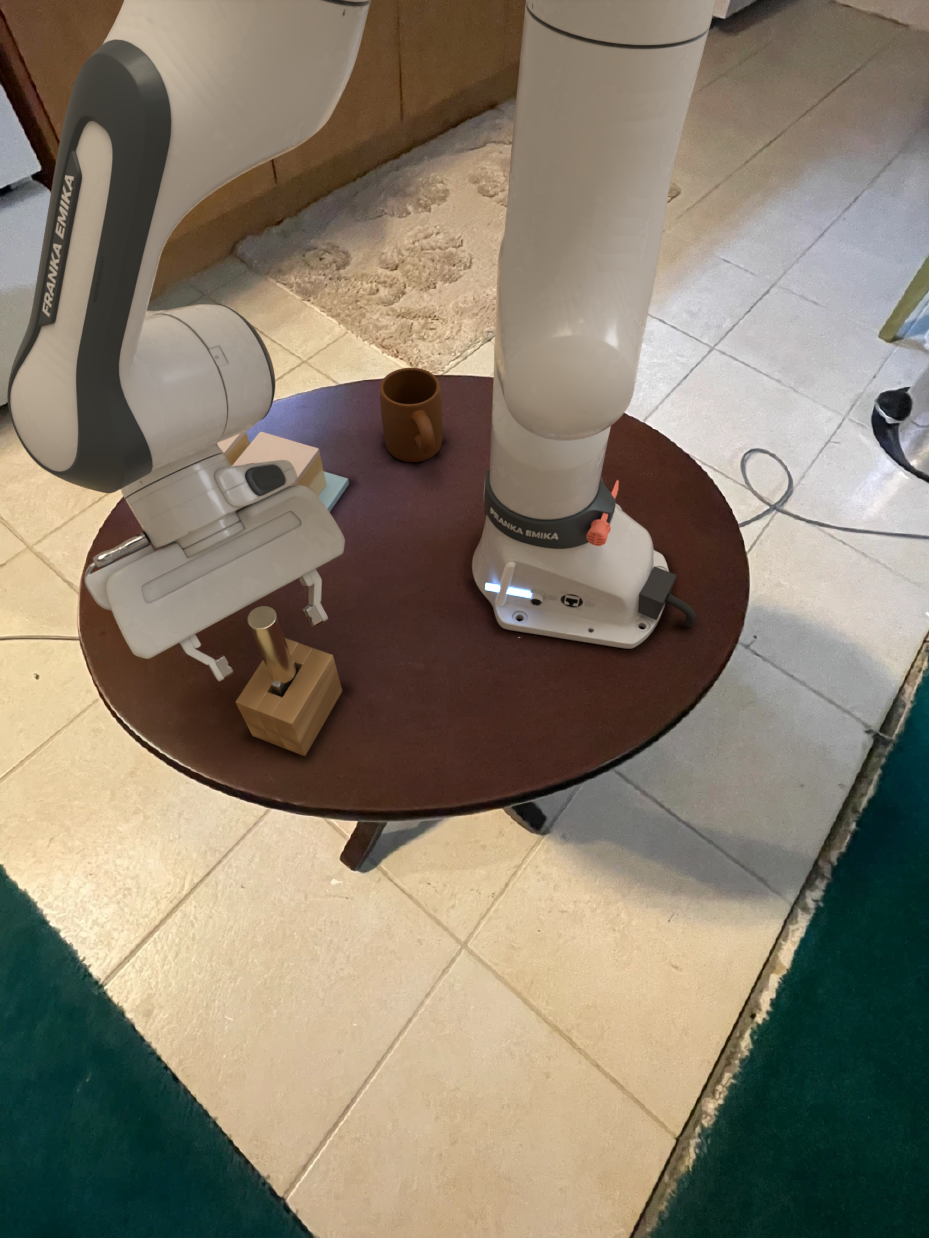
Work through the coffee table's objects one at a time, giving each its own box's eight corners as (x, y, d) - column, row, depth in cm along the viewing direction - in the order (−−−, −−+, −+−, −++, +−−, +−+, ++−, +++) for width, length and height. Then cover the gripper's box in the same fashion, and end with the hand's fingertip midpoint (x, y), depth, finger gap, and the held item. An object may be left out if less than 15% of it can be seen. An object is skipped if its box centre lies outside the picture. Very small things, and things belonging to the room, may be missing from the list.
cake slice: (256, 464, 97) (245, 427, 92) (214, 516, 92) (200, 480, 87) (235, 458, 98) (223, 421, 93) (193, 509, 93) (178, 473, 88)
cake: (349, 484, 96) (342, 442, 91) (294, 564, 89) (282, 523, 83) (230, 448, 100) (216, 405, 94) (168, 521, 93) (148, 480, 87)
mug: (460, 480, 97) (460, 422, 89) (402, 494, 95) (397, 436, 88) (433, 420, 103) (430, 361, 96) (378, 432, 102) (371, 373, 94)
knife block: (342, 690, 79) (333, 655, 74) (305, 756, 75) (292, 724, 69) (291, 672, 81) (278, 635, 75) (252, 735, 76) (235, 702, 71)
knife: (315, 704, 78) (283, 608, 64) (301, 729, 77) (265, 635, 63) (295, 697, 79) (258, 599, 65) (280, 721, 77) (240, 626, 63)
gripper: (71, 565, 58) (167, 718, 61) (306, 453, 65) (380, 595, 68) (74, 566, 63) (161, 705, 67) (290, 462, 71) (359, 593, 74)
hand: (273, 649), depth 68 cm, fingers open, 8 cm apart
